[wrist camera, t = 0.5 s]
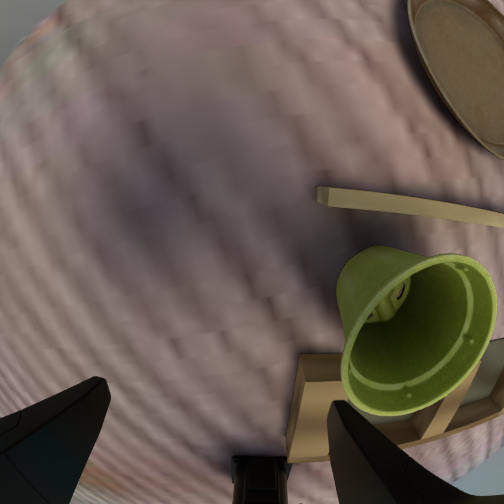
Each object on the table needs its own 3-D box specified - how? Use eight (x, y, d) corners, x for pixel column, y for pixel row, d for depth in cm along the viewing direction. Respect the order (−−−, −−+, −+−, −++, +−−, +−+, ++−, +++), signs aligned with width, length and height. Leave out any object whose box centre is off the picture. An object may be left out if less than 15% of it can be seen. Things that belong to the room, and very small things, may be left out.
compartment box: (490, 399, 23) (511, 425, 17) (285, 436, 24) (288, 484, 18) (548, 223, 17) (584, 235, 12) (316, 184, 18) (342, 187, 12)
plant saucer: (503, 21, 12) (518, 13, 9) (537, 170, 16) (557, 172, 13) (369, -30, 13) (380, -48, 10) (414, 154, 17) (436, 152, 14)
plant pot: (401, 345, 21) (449, 412, 12) (297, 333, 21) (314, 417, 12) (440, 238, 18) (517, 273, 10) (331, 208, 18) (384, 232, 10)
